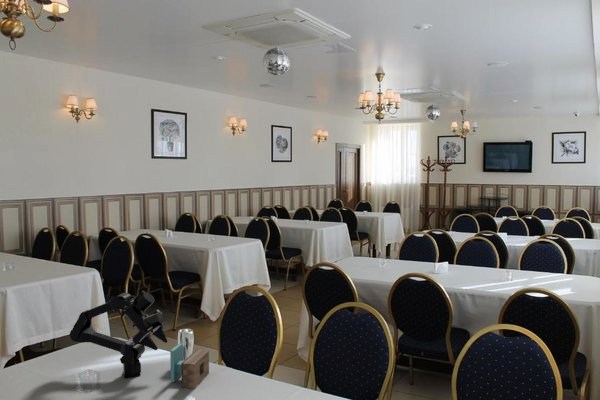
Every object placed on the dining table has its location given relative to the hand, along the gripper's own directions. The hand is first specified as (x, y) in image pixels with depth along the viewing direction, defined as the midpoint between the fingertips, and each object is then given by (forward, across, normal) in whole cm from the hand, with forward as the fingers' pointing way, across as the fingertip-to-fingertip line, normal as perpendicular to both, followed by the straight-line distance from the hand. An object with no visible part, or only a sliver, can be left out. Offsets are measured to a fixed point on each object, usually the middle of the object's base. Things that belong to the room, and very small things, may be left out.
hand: (162, 345), depth 218 cm
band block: (+20, 0, -1) cm, 20 cm away
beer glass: (+12, +16, +7) cm, 22 cm away
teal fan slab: (+16, 0, +2) cm, 16 cm away
